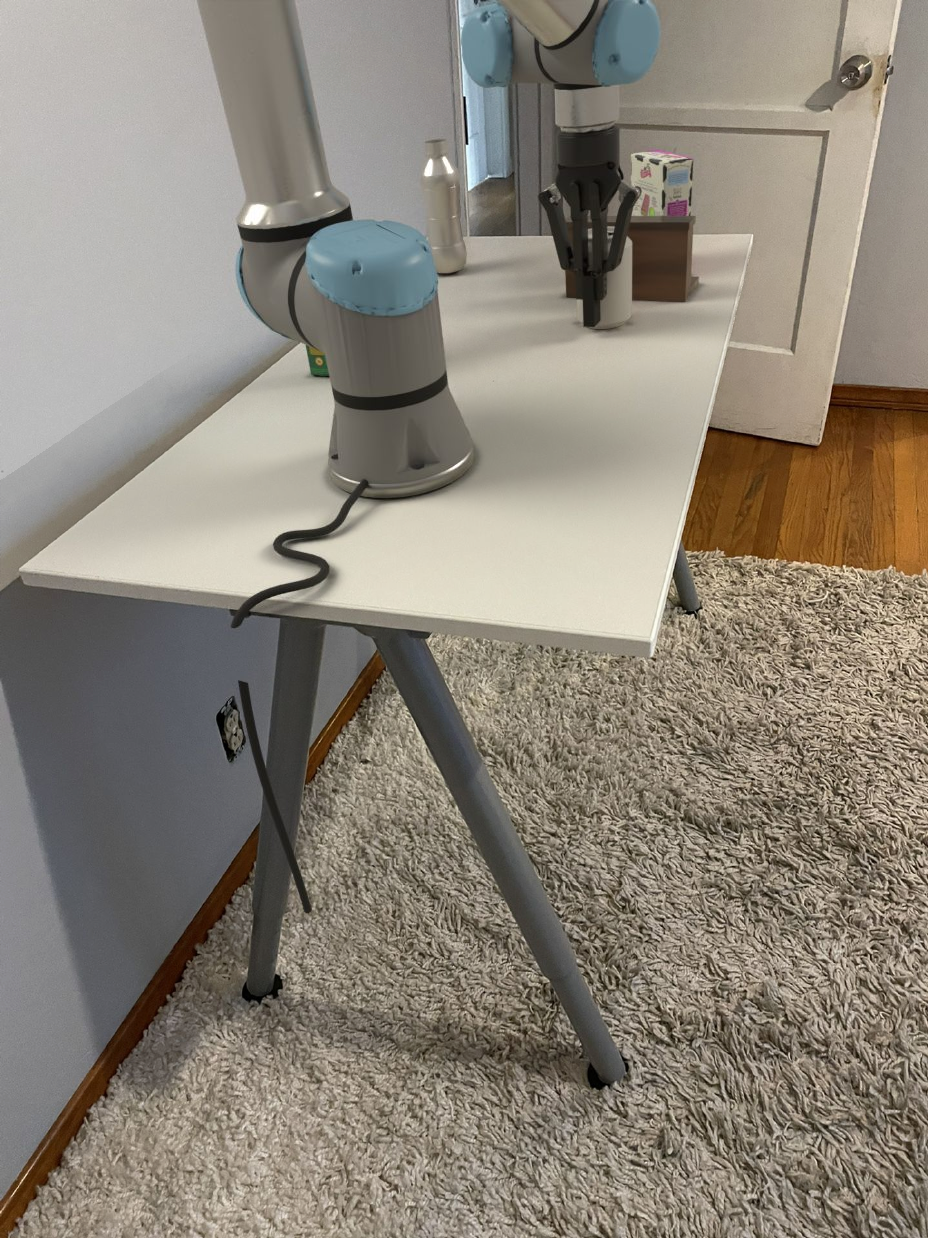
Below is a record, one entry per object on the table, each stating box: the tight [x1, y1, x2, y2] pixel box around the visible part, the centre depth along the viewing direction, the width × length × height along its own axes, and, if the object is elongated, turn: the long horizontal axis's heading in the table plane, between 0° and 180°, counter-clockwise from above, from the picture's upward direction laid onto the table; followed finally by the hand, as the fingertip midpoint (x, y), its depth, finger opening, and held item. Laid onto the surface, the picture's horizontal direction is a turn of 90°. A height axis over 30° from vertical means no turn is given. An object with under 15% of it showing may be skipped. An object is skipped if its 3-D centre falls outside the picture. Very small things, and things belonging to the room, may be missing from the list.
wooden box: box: [564, 215, 700, 303], centre depth 134 cm, size 8×18×11 cm, turn 65°
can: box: [576, 227, 633, 330], centre depth 123 cm, size 8×8×12 cm
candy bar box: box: [630, 149, 694, 216], centre depth 139 cm, size 11×5×16 cm, turn 17°
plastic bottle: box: [418, 138, 468, 274], centre depth 149 cm, size 6×7×20 cm
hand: (592, 323), depth 122 cm, fingers closed
